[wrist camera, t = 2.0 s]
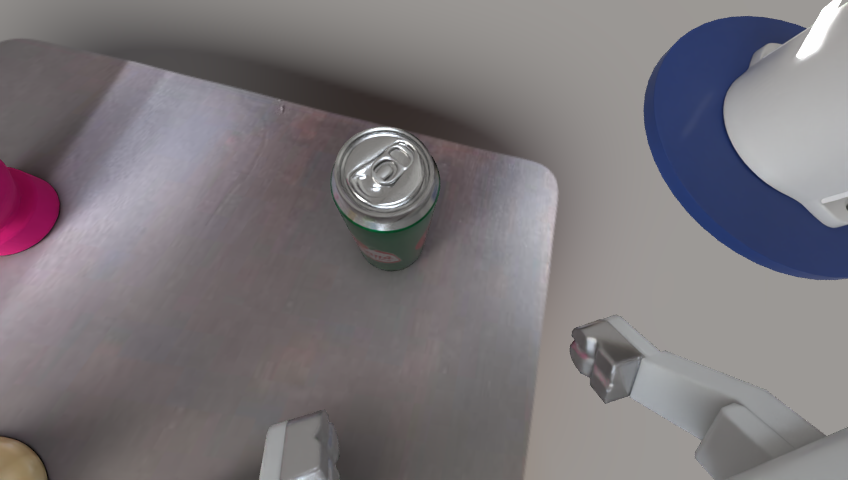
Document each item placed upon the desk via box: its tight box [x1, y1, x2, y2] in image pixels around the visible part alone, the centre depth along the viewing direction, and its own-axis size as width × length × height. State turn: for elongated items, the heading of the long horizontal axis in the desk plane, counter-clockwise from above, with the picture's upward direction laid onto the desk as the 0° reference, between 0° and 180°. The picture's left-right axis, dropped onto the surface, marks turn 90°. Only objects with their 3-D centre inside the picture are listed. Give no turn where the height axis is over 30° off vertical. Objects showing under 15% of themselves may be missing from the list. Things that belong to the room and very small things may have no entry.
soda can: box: [330, 126, 440, 271], centre depth 19 cm, size 5×5×12 cm
